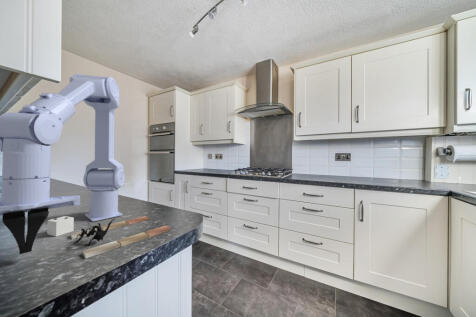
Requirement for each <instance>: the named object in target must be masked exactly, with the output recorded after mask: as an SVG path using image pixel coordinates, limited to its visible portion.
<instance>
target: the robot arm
mask: <svg viewBox="0 0 476 317" xmlns="http://www.w3.org/2000/svg"><path fill="white" fill-rule="evenodd" d="M81 102H84V104H86V105H87V106H89V107H91V108H93V110H94V114H95V115H94V124H95V125H94V160H92V161H91V162H90V163H88V164H87V165H85V171H84V172H85V173H84V174H83V177H82V181H83V183H84V184H83V185H84V186H85V188H86V189H87V190H88V191H90V194H89V195H88V196H89V197H88V213H85V214H84V216H85V217H86V218H88V219H89V220H90V221H92V222H97V221H103V220H107V219H111V218H117V217H121V216H123V213H122V212H120V211H119V189H121V188H122V186H123V185H124V184H125V181H126V174H125V169H124V168H125V167H124V165H123V164H122V163H120V162H119V161H117V160H116V159H115V127H116V126H115V123H116V121H115V120H116V119H115V117H116V116H115V114H116V113H115V110H116V109H118V108H119V106H120V88H119V86H118V83H117V81H116V80H115V79H114V77H111V76H107V77H106V76H99V75H87V74H80V73H75V74H73V75H71V76H69V83H68V84H67V85H66V86H65V87H63V88H62V89H61V90H60V91H59V92H58V93H52V92H42V93H40V94H39V98H37V99H36V100H35V101H32V102H31V103H29V104H26V105H25V104H24V105H23V106H22V108H21V109H20V110H19V111H18V112H4V113H3V114H1V115H0V153H2V171H1V196H0V198H1V200H0V216H2V217H1V218H2V219H1V221H2V223H3V224H4V226H5V227H6V228H7V229H8V231H10V233H11V234H12V236H13V237H14V239H15V241H16V244H17V246H18V251H19V255H23V254H27V253H31V252H32V251H33V250H32V249H33V245H34V242H35V240H36V237H37V235H38V233H39V231H40V229H41V228H42V226H43V224H44V223H45V221H46V220H47V218H48V216H49V213H50V211H49V210H50V209H56V208H64V207H71V206H72V207H77V206H80V205H81V196H80V195H78V194H75V195H74V194H73V195H62V196H51V166H52V165H51V164H52V145H53V144H55V143H56V142H58V141H60V139H61V136H62V130H63V129H64V125H65V124H66V123H67V122H68V121H69V120H70V119H72V117H73V116H74V115H75V113H76V106H77V105H78V104H80V103H81ZM26 213H27V223H26ZM26 224H27V230H26ZM25 234H26V235H25Z"/></svg>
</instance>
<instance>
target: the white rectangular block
mask: <svg viewBox="0 0 476 317" xmlns="http://www.w3.org/2000/svg"><path fill="white" fill-rule="evenodd" d="M74 219H75V218H74V217H71V216H67V215H66V216H64V215H63V216H60V217H55V218H51V219H47V227H46V228H47V230H46V232H47V233H46V234H47V235H49V236H51V237H52V236H53V237H59V236H62V235H65V234H68V233H69V234H70V233H73V232H74V225H75V224H74V222H75V220H74Z"/></svg>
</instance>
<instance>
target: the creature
mask: <svg viewBox="0 0 476 317" xmlns="http://www.w3.org/2000/svg"><path fill="white" fill-rule="evenodd" d="M115 220H116V218H113V219H111V220H110V221H109V223H108V224H107V225H108V226H107V228H106V230H105V231H104V230H102V229H101V226H102V225H101V223H99V222H98V223H97V225H92V226H91V224H90V223H89V222H88V220H86V222H87V225H88V226H89V225H90V226H89V227H88V228H87V229H84V228H81V229H80V231H82V232H81V235H80V234H78V235H79V236H81V237H79V238H77V237H78V235H77V237H76V238H75V239H77V240H76V241H75V242H73V243H71V244H70V245H68V246H67V247H66V249H68V248H69V247H72V246H73V245H74V246H75V247H76V246H77V244H78V243H79V242H80V241H81V240H83V238H84V237H87V238H90V237H92V238H91V239H90V240H89V242H88V244H86V243H85V244H84V243H82V245H84V246H86V247H87V246H88V247H89V246H90V245H91V242H92V241H93V240H96V241H97V242H100V241H101V240H104V237H105V235H106V234H107V233H108V231H109V230H108V229H109V227H110V224H113V221H115ZM90 227H91V228H90ZM95 228H96V229H97V231H96V230H95ZM85 230H86V231H85ZM87 230H89V232H88V234H87ZM90 230H91V231H90ZM94 233H95V234H94ZM85 234H86V236H84V235H85ZM78 245H81V243H80V244H78Z"/></svg>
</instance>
